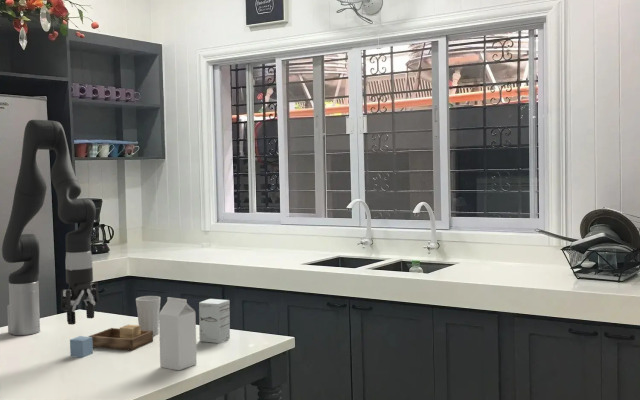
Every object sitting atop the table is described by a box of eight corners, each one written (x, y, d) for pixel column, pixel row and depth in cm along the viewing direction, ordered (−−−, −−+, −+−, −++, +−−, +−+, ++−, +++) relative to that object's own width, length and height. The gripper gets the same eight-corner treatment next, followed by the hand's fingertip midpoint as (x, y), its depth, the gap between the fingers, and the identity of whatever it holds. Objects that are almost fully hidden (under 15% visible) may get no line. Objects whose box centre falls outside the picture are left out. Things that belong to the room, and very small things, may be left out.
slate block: (70, 356, 209) (69, 339, 209) (80, 352, 214) (79, 336, 213) (83, 357, 208) (82, 340, 208) (92, 353, 212) (92, 337, 212)
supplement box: (198, 342, 224) (197, 302, 223) (210, 336, 231) (210, 298, 230) (219, 343, 221) (218, 303, 221) (230, 338, 228) (230, 299, 228)
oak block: (128, 340, 224) (128, 324, 224) (140, 341, 223) (140, 325, 222) (120, 343, 220) (119, 327, 220) (132, 344, 218) (132, 328, 218)
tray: (88, 346, 220) (88, 336, 220) (111, 338, 231) (111, 327, 230) (131, 350, 214) (131, 339, 214) (153, 341, 225) (152, 331, 225)
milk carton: (179, 371, 193) (177, 301, 192) (160, 367, 196) (158, 299, 195) (196, 364, 199) (195, 297, 198) (178, 361, 202) (176, 295, 201)
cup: (164, 331, 239) (163, 296, 238) (156, 337, 231) (155, 300, 230) (141, 331, 240) (140, 295, 239) (133, 336, 232) (132, 300, 231)
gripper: (84, 263, 217) (86, 315, 218) (52, 269, 204) (54, 325, 205) (104, 263, 215) (106, 316, 216) (73, 270, 201) (75, 327, 202)
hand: (81, 321), depth 210 cm, fingers open, 8 cm apart
